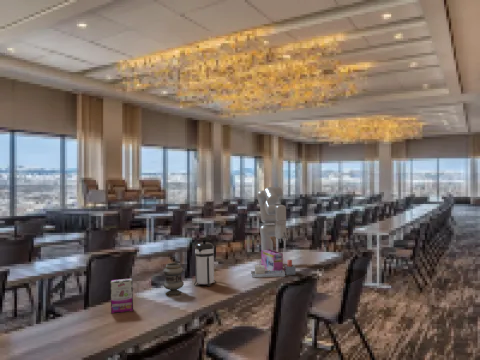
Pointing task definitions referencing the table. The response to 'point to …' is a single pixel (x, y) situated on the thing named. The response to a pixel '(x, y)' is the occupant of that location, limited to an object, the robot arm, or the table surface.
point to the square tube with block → (289, 270)
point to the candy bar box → (121, 295)
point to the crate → (259, 269)
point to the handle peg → (289, 262)
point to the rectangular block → (270, 273)
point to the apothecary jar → (173, 278)
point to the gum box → (272, 260)
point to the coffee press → (204, 263)
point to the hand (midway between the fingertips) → (281, 247)
